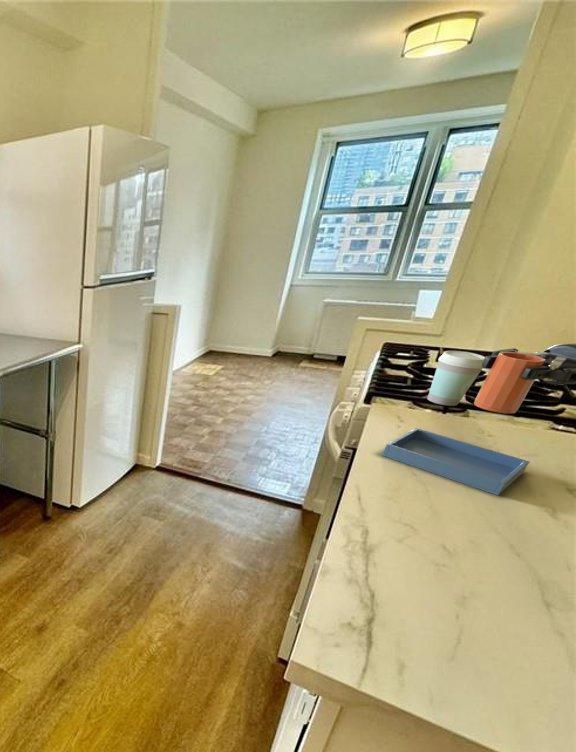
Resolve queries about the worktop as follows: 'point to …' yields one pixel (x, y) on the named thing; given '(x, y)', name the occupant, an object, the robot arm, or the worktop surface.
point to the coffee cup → (454, 376)
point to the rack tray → (456, 460)
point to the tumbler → (507, 382)
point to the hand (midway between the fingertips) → (505, 367)
